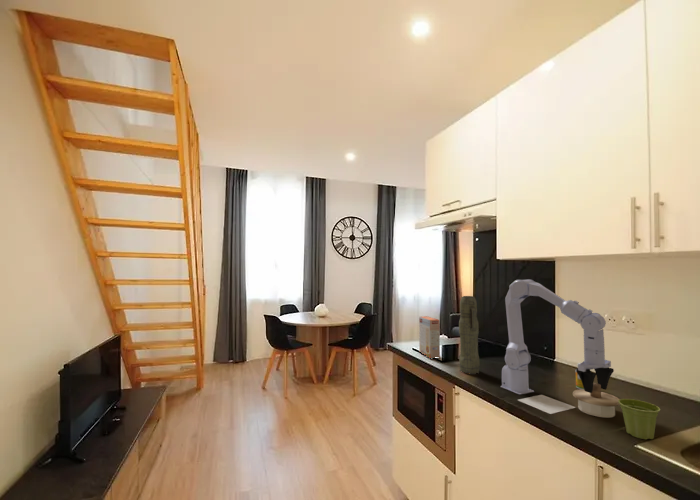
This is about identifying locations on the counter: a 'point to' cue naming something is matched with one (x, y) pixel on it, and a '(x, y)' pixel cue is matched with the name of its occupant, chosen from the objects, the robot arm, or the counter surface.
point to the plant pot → (639, 417)
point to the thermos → (468, 335)
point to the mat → (546, 404)
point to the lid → (596, 397)
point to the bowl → (596, 409)
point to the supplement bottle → (579, 381)
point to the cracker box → (429, 337)
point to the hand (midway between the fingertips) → (595, 390)
